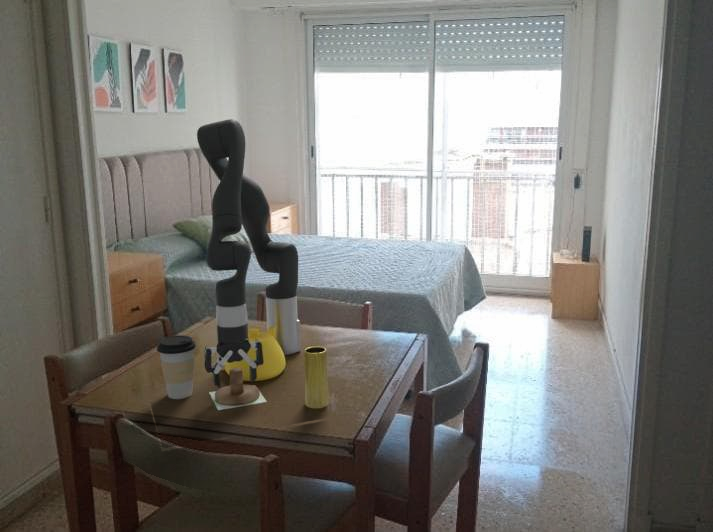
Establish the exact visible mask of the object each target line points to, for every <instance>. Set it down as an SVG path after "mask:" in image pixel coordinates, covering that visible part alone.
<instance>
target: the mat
mask: <svg viewBox="0 0 713 532" xmlns="http://www.w3.org/2000/svg"><path fill="white" fill-rule="evenodd" d="M253 386H255V387H257V386H256V384H253ZM216 391H217V390H216ZM216 391H209V392H208V394H209V395H210V397H211V399H212V401H213V403H214V405H215V407H216V409H217V411H222V410H228V409H234V408H238V407H239V408H240V407H244V406H250V405H257V404H262V403H268V401H267V400H266V398H265V397H264V396H263V394H262V392H261V391H260V390H259V394H260V396H259V398H258V399H257V400H256V401H254V402H252V403H249V404H245V405H239V406H227V405H222V404H219V403H217V402H216V401H215V393H216Z"/></svg>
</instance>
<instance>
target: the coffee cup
mask: <svg viewBox="0 0 713 532" xmlns="http://www.w3.org/2000/svg"><path fill="white" fill-rule="evenodd" d="M196 346H197V345H196V342H195V341H194V340H193V337H191V336H189V335H170V336H167V337H164V338H161V339H160V340H159V344H157V346H156V347H157V348H156V351H157V352H158V353H159V355H160V356H159V357H160V364H161V365H160V366H161V369H162V370H161V371H162V375H163V380H164V383H165V386H166V387H165V388H166V392H167V393H166V394H167V397H168V398H169V399H172V400H182V399H186V398H189V397H191V396H192V395H193V389H194V388H193V384H194V377H195V372H194V371H195V354H194V353H195V348H196Z"/></svg>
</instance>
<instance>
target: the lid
mask: <svg viewBox="0 0 713 532" xmlns="http://www.w3.org/2000/svg"><path fill="white" fill-rule="evenodd" d="M229 373H230V375H229V385H226V386H222V387H220V388H219V389H217V390H216V393H215V401H216V402H217V403H219V404H222V405H227V406H239V405H245V404H249V403H252V402H254V401H256V400H257V399H258V398H259V396H260V394H259V391H260V388H259V387H257V386H256V385H255V386H256V387H255V386H253V385H254V384H253V385H252V384H247V383H246V384H245V383H244V381H243V371H242V369H240V368H235V369H231V370H230V371H229Z"/></svg>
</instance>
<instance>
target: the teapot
mask: <svg viewBox="0 0 713 532" xmlns="http://www.w3.org/2000/svg"><path fill="white" fill-rule="evenodd" d="M248 339H249V343H250V342H255V340H259V341H260V342H261V343H262V352H263V361H264V363H263V364H262V365H259V366H257V368H256V370H257V379H256V380H255V382H258V381H259V382H260V381H266V380H270V379H273V378H276V377H278V376H279V375H280V374H281V373H283V371H284V369H285V367H286V357H285V356H286V355H284V353H283V351H282V349H281V347H280V345H279V344H278V342H277V341H276V327H270V328H268V331H267V330H266V331H261V329H260V328H255V327H254V328H253V327H252V328H248ZM247 354H248V356H249V357H250V358H251V359H252V360H253V361H254V360H256V350H254V349H253V347H251V348H250V350H249V351H248V353H247ZM223 362H224V361H223ZM249 366H250V364H249V363H247V361H246V360H245V359H243V360H241V361H239V362H237V361H234V362H232V363H229V362H226V363H225V365H224V369H225V372H226V373H227V375H228V376H230V373H229V371H230V370H231V369H235V368H240V369H242V371H243V382H251V381H250V370H249Z"/></svg>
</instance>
